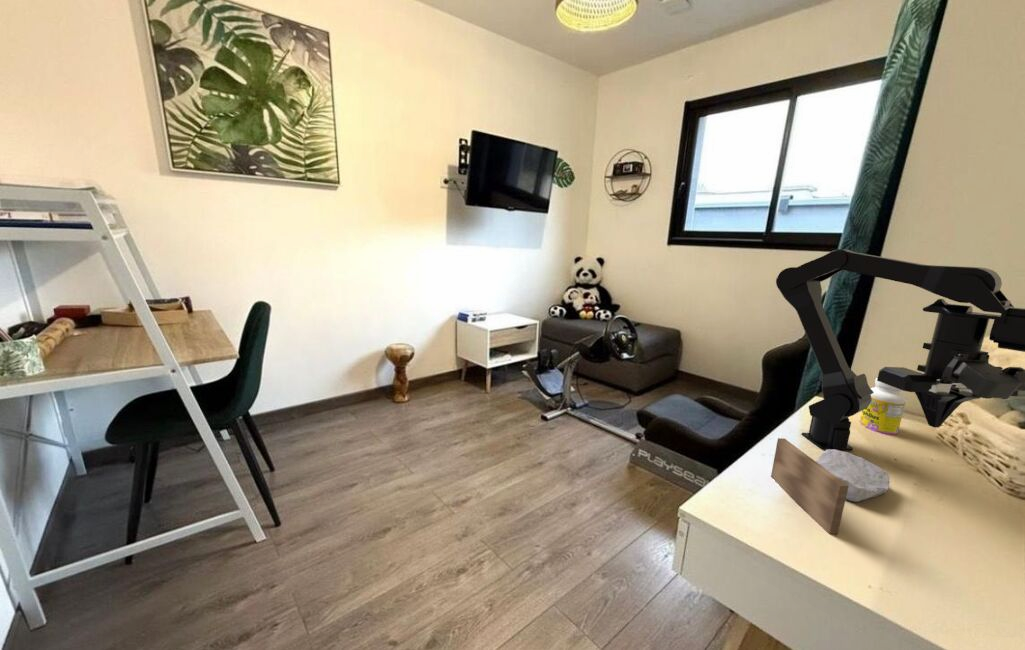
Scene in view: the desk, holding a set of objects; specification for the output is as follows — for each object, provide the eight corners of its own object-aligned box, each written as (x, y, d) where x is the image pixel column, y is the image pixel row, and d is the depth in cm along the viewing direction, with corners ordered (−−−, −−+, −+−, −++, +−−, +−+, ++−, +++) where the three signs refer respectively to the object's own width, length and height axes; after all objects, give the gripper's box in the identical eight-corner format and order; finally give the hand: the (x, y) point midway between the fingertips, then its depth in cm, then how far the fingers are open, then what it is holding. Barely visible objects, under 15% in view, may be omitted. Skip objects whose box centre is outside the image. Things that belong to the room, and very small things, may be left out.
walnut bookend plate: (770, 478, 72) (777, 438, 70) (777, 478, 72) (784, 438, 70) (829, 534, 58) (840, 485, 56) (837, 534, 58) (848, 485, 56)
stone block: (886, 495, 70) (822, 460, 78) (899, 473, 69) (832, 441, 76) (867, 522, 64) (798, 482, 71) (880, 499, 62) (809, 460, 69)
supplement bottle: (851, 425, 95) (862, 374, 93) (881, 427, 95) (893, 376, 92) (872, 438, 89) (884, 384, 86) (904, 441, 88) (918, 386, 85)
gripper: (951, 352, 59) (925, 447, 62) (1078, 357, 59) (1046, 452, 62) (884, 335, 70) (865, 417, 73) (991, 339, 70) (967, 421, 73)
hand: (933, 426), depth 70 cm, fingers closed
